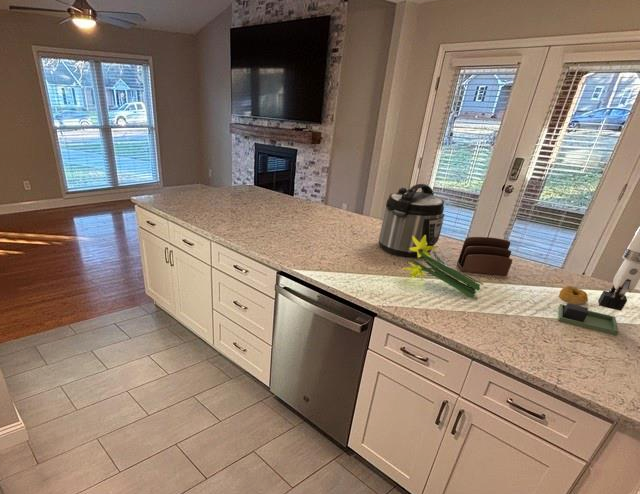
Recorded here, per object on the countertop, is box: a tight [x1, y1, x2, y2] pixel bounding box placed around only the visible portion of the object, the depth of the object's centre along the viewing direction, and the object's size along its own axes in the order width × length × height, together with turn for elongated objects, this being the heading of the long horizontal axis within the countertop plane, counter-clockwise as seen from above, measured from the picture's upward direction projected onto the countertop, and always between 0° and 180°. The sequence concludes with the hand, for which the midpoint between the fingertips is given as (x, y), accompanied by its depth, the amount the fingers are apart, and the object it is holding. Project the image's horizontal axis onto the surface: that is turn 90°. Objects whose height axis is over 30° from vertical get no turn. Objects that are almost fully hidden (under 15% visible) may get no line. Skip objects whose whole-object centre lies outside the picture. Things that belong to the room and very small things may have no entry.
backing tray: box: [557, 303, 619, 337], centre depth 152 cm, size 18×14×2 cm
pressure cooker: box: [378, 183, 445, 258], centre depth 203 cm, size 30×28×32 cm
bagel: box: [558, 285, 589, 306], centre depth 167 cm, size 10×11×5 cm
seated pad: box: [563, 302, 589, 322], centre depth 153 cm, size 6×5×4 cm
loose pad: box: [597, 290, 628, 312], centre depth 145 cm, size 6×5×4 cm
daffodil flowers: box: [402, 235, 484, 299], centre depth 172 cm, size 17×15×35 cm
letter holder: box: [456, 236, 514, 276], centre depth 189 cm, size 10×20×14 cm, turn 80°
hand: (610, 304), depth 146 cm, fingers closed on loose pad, 5 cm apart
